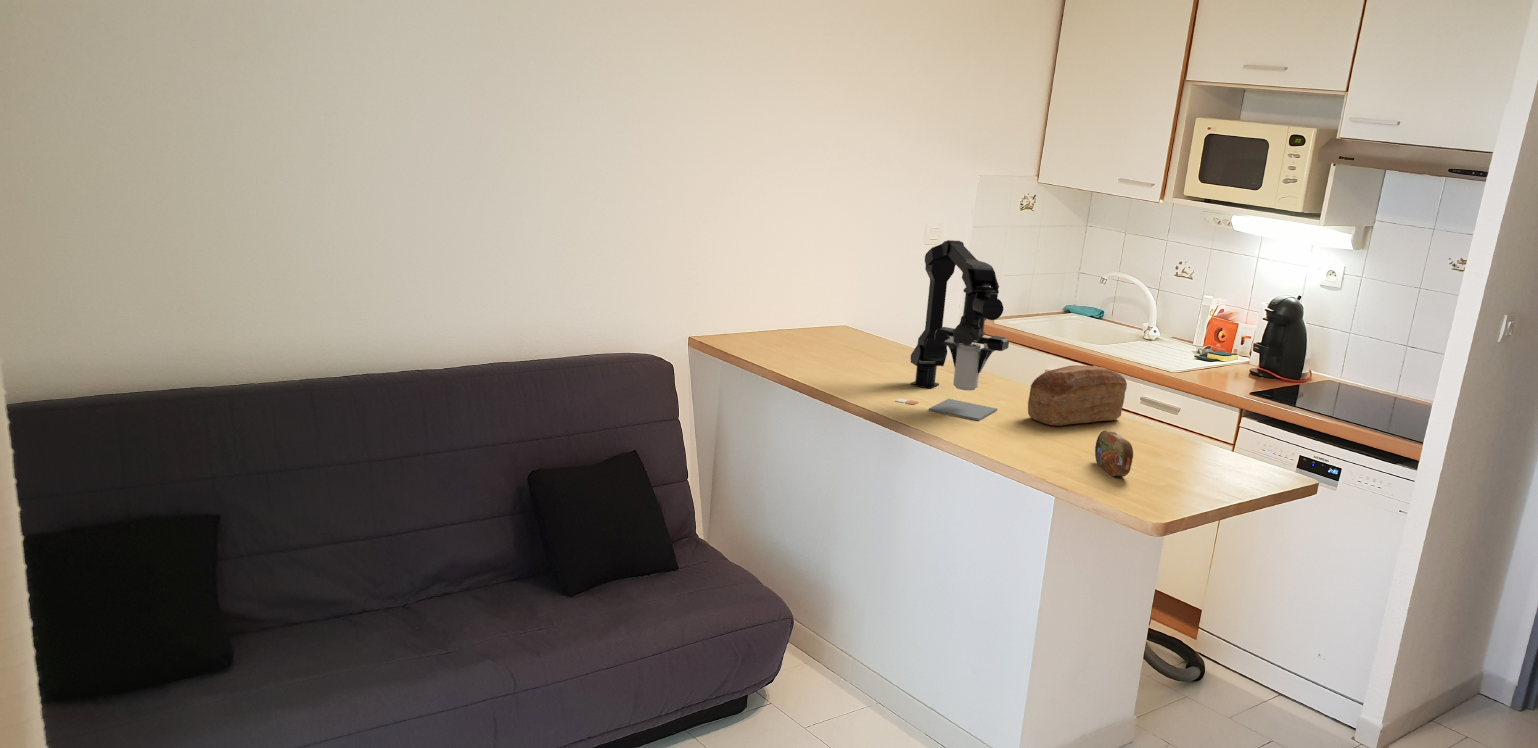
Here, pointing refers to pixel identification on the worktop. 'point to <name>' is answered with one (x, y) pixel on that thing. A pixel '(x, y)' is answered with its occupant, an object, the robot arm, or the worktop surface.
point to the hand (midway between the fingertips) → (967, 370)
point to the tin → (1113, 453)
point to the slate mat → (963, 409)
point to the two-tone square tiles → (906, 401)
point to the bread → (1076, 395)
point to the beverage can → (967, 366)
